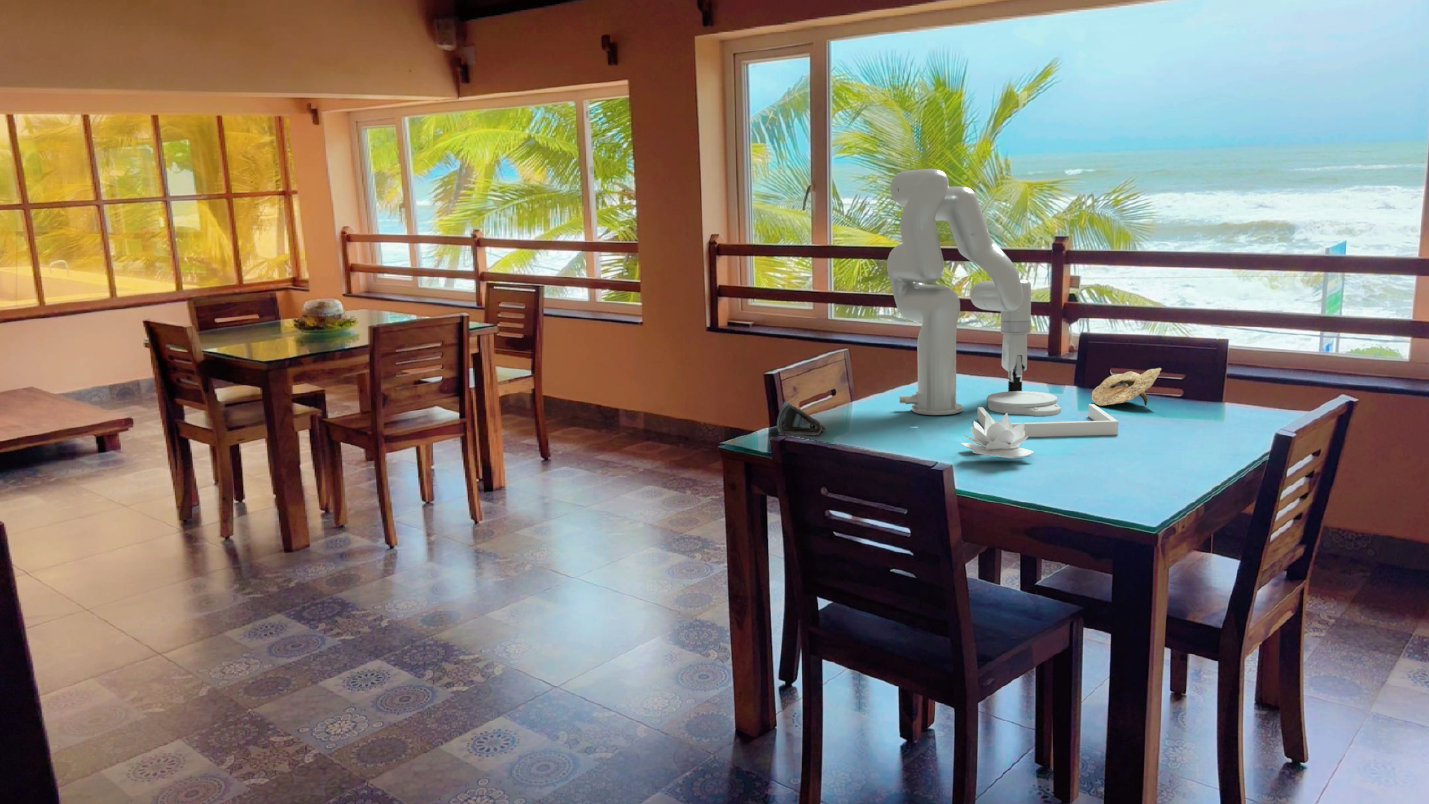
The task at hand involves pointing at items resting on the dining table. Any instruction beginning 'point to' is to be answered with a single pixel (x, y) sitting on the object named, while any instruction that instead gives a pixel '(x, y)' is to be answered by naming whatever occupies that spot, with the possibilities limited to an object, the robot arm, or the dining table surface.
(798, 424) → the dark rounded triangle
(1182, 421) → the dining table surface
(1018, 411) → the lid
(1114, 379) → the beige piece
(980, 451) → the lotus flower
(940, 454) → the dining table surface
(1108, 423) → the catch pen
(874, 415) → the dining table surface
